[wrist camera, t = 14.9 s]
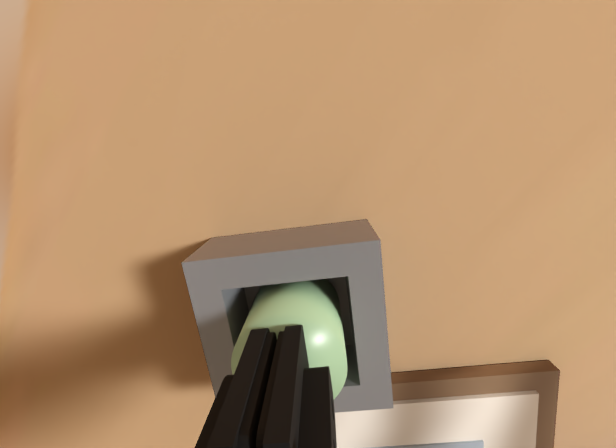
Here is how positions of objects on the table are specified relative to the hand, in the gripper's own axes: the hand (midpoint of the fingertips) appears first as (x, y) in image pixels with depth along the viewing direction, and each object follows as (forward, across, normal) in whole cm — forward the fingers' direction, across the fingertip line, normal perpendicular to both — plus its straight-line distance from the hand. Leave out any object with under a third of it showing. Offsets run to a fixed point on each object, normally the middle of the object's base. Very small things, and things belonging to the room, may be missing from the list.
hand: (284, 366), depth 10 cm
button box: (+4, 0, 0) cm, 5 cm away
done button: (+4, 0, 0) cm, 4 cm away
